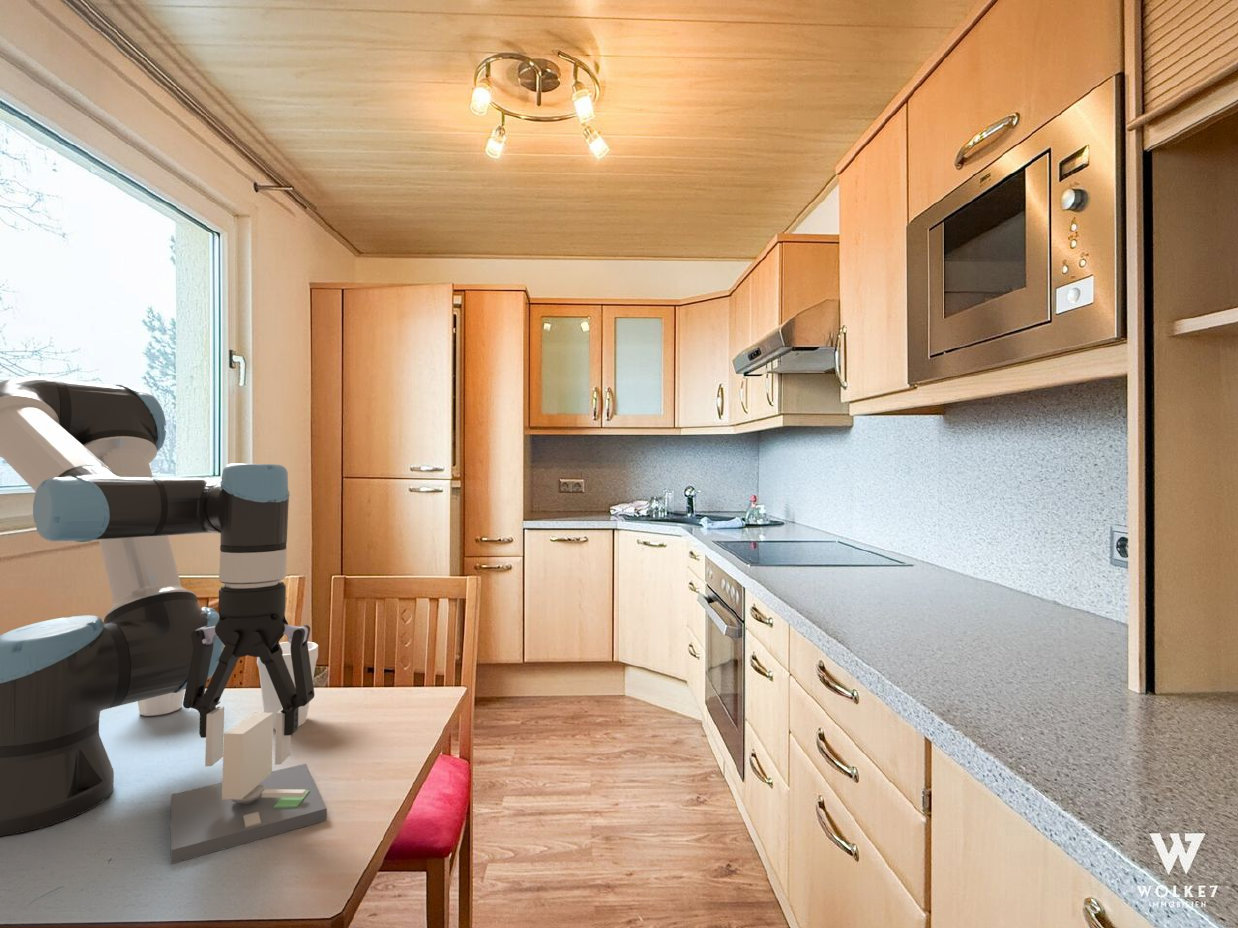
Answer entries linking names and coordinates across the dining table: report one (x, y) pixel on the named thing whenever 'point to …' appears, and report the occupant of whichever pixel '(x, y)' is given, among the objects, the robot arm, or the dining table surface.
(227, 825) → the base
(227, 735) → the cream angular block
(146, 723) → the dining table surface
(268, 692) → the foam cup
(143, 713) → the cup
